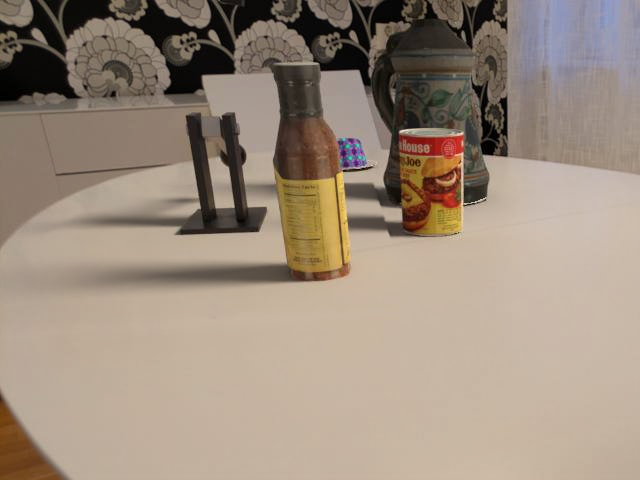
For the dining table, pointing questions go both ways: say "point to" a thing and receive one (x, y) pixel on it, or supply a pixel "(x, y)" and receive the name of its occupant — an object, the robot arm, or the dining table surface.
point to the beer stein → (429, 97)
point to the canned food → (431, 181)
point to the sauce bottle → (309, 178)
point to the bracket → (209, 215)
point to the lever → (218, 136)
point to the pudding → (351, 153)
